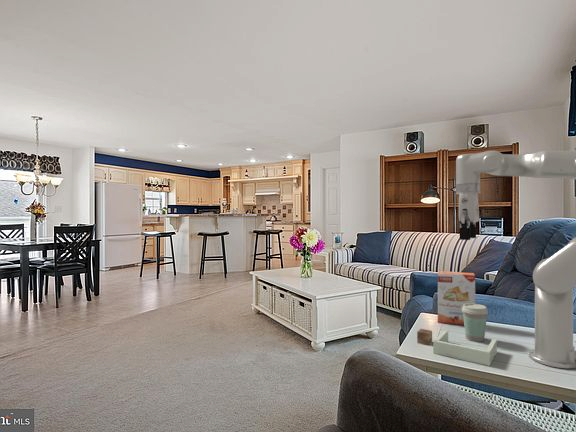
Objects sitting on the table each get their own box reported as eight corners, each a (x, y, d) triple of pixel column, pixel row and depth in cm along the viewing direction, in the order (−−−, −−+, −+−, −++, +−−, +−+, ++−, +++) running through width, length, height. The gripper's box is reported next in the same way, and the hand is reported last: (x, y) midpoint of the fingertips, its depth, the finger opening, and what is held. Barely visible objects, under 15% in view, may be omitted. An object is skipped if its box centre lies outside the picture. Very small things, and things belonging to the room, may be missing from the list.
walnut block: (432, 341, 127) (432, 330, 127) (429, 345, 123) (429, 334, 123) (420, 339, 129) (420, 328, 129) (417, 343, 126) (417, 331, 126)
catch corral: (496, 351, 117) (496, 339, 117) (489, 365, 106) (489, 352, 106) (444, 340, 127) (444, 329, 127) (433, 353, 116) (433, 340, 116)
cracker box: (437, 323, 148) (437, 272, 147) (437, 318, 153) (437, 270, 153) (475, 327, 142) (475, 274, 142) (474, 322, 148) (474, 272, 147)
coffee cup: (481, 335, 133) (481, 303, 133) (492, 343, 124) (492, 309, 124) (458, 334, 134) (457, 302, 133) (467, 343, 125) (467, 309, 125)
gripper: (474, 188, 115) (475, 241, 115) (484, 190, 129) (484, 237, 129) (450, 189, 120) (450, 240, 120) (461, 191, 133) (462, 236, 133)
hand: (468, 238), depth 124 cm, fingers open, 9 cm apart
